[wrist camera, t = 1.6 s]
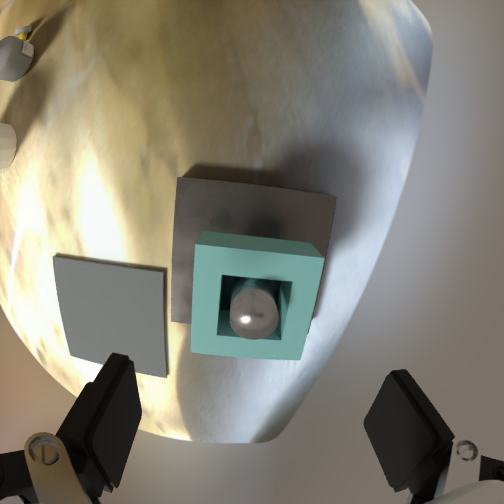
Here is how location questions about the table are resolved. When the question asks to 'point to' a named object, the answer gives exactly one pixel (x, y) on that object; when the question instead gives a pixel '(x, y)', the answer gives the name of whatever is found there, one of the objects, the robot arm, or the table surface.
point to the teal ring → (253, 266)
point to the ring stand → (250, 224)
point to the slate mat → (112, 312)
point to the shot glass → (7, 146)
